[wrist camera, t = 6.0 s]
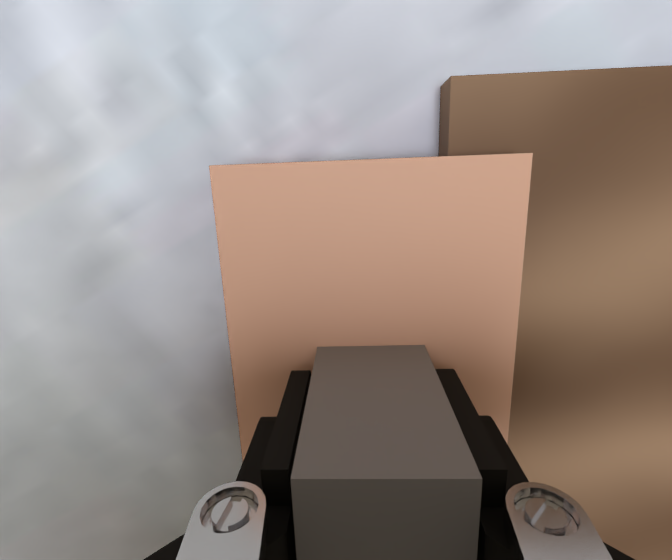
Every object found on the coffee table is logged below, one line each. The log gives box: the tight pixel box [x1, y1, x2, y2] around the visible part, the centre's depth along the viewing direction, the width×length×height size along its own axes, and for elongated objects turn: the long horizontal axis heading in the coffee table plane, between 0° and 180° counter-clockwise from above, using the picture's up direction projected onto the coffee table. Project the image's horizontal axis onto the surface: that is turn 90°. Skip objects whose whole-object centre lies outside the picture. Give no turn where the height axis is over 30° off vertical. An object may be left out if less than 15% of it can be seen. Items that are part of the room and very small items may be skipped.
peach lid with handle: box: [209, 153, 533, 560], centre depth 9 cm, size 14×8×6 cm, turn 2°
